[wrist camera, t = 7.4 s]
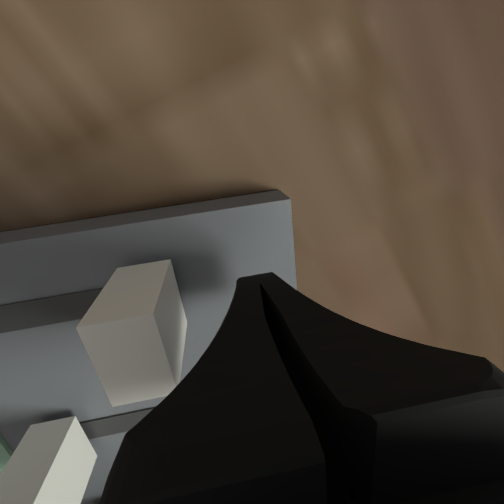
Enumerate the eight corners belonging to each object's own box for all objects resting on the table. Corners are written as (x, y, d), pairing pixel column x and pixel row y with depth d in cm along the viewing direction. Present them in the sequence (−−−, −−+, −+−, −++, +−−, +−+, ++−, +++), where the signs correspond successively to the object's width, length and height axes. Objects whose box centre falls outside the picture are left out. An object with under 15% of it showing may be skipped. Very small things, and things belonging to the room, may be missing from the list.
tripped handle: (170, 259, 11) (152, 313, 8) (187, 322, 12) (178, 393, 9) (117, 268, 11) (75, 327, 7) (139, 331, 12) (112, 407, 9)
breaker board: (279, 189, 13) (291, 200, 11) (301, 460, 21) (311, 495, 19) (-156, 255, 11) (-234, 281, 9) (47, 518, 19) (28, 563, 17)
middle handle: (75, 416, 13) (30, 510, 10) (97, 455, 14) (63, 551, 11) (30, 425, 13) (-31, 523, 10) (56, 464, 14) (10, 564, 11)
